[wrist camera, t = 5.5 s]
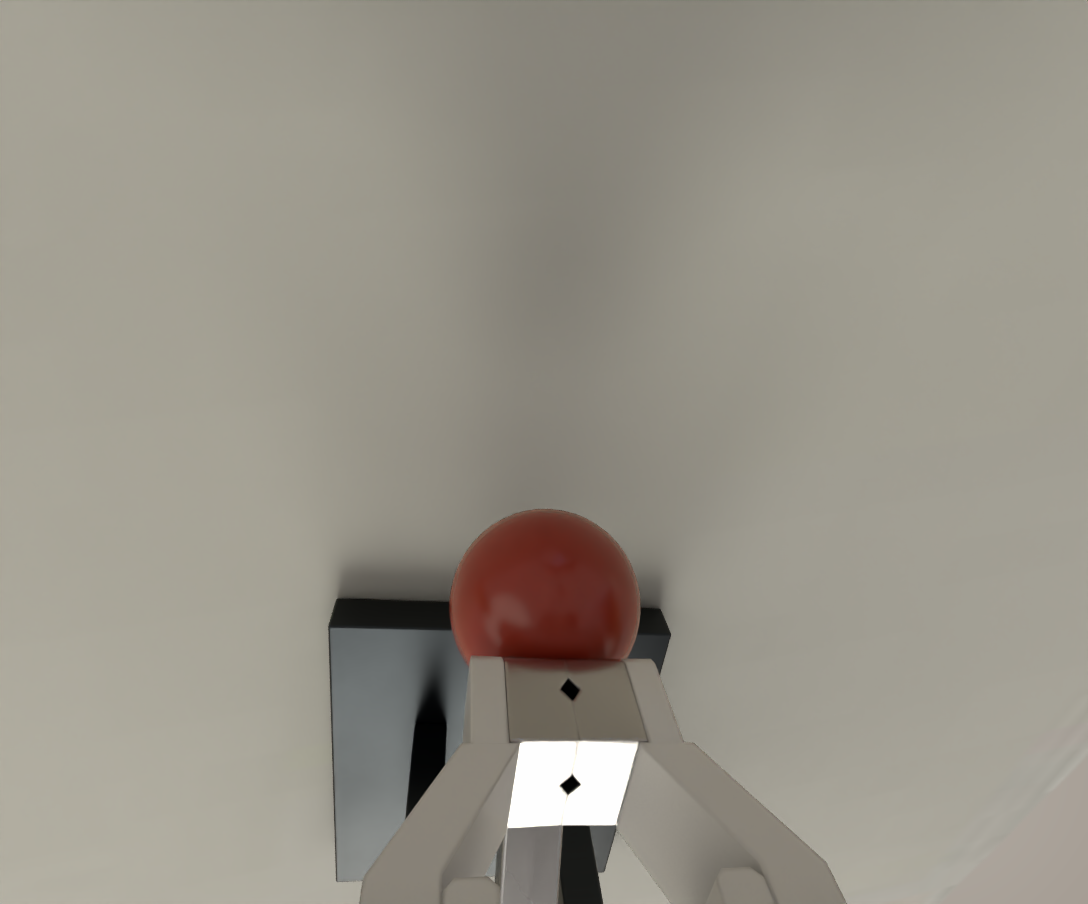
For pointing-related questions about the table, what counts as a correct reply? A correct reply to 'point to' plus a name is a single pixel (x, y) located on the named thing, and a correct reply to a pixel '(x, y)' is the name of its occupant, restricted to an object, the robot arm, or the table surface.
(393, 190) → the table surface
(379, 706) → the bracket
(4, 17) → the table surface
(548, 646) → the lever
